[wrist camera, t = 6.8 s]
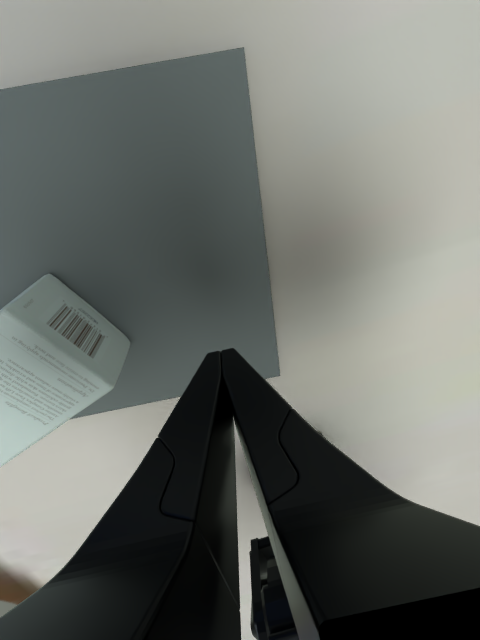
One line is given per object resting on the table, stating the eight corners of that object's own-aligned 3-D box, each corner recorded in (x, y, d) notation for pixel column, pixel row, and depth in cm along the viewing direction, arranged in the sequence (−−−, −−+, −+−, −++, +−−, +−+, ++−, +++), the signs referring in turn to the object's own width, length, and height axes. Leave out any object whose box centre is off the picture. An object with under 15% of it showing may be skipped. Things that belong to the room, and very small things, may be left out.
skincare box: (52, 268, 15) (-80, 378, 18) (-2, 309, 11) (-160, 441, 14) (137, 343, 18) (12, 428, 21) (118, 396, 14) (-33, 492, 17)
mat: (278, 372, 21) (280, 375, 21) (-47, 439, 20) (-51, 444, 20) (242, 50, 12) (243, 47, 12) (-351, 153, 11) (-368, 153, 11)
